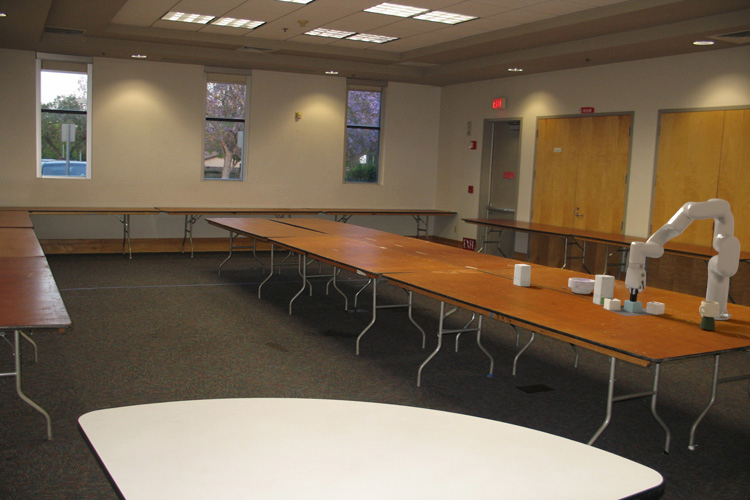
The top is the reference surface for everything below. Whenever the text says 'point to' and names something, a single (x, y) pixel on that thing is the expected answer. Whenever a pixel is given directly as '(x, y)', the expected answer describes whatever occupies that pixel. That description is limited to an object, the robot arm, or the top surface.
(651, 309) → the digit block one
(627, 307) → the plain block
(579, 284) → the paper bowls
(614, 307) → the digit block seven
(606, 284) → the skincare box
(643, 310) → the mat
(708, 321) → the character mug
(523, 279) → the supplement box
